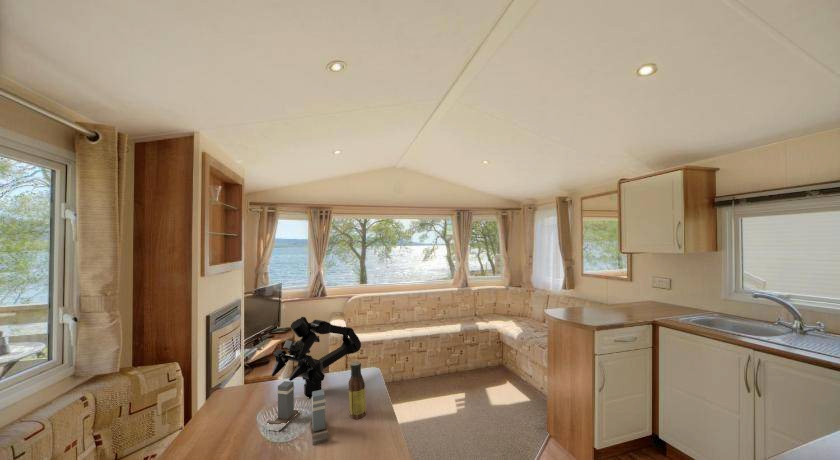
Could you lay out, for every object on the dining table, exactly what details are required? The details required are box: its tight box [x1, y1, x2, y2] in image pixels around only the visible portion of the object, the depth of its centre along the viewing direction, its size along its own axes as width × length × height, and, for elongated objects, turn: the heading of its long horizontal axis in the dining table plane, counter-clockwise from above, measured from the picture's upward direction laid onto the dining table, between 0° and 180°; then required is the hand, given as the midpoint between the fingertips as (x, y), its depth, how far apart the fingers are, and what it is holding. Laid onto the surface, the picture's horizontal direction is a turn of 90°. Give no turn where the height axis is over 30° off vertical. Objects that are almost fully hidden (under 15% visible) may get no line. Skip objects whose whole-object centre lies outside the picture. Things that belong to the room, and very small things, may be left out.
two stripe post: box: [311, 389, 326, 432], centre depth 109 cm, size 4×4×12 cm
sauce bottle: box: [348, 361, 367, 420], centre depth 118 cm, size 6×6×20 cm
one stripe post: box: [276, 380, 295, 419], centre depth 116 cm, size 4×4×12 cm
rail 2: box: [310, 421, 329, 446], centre depth 107 cm, size 12×5×3 cm, turn 23°
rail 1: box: [266, 409, 300, 424], centre depth 114 cm, size 12×5×3 cm, turn 168°
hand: (280, 378), depth 119 cm, fingers open, 9 cm apart
